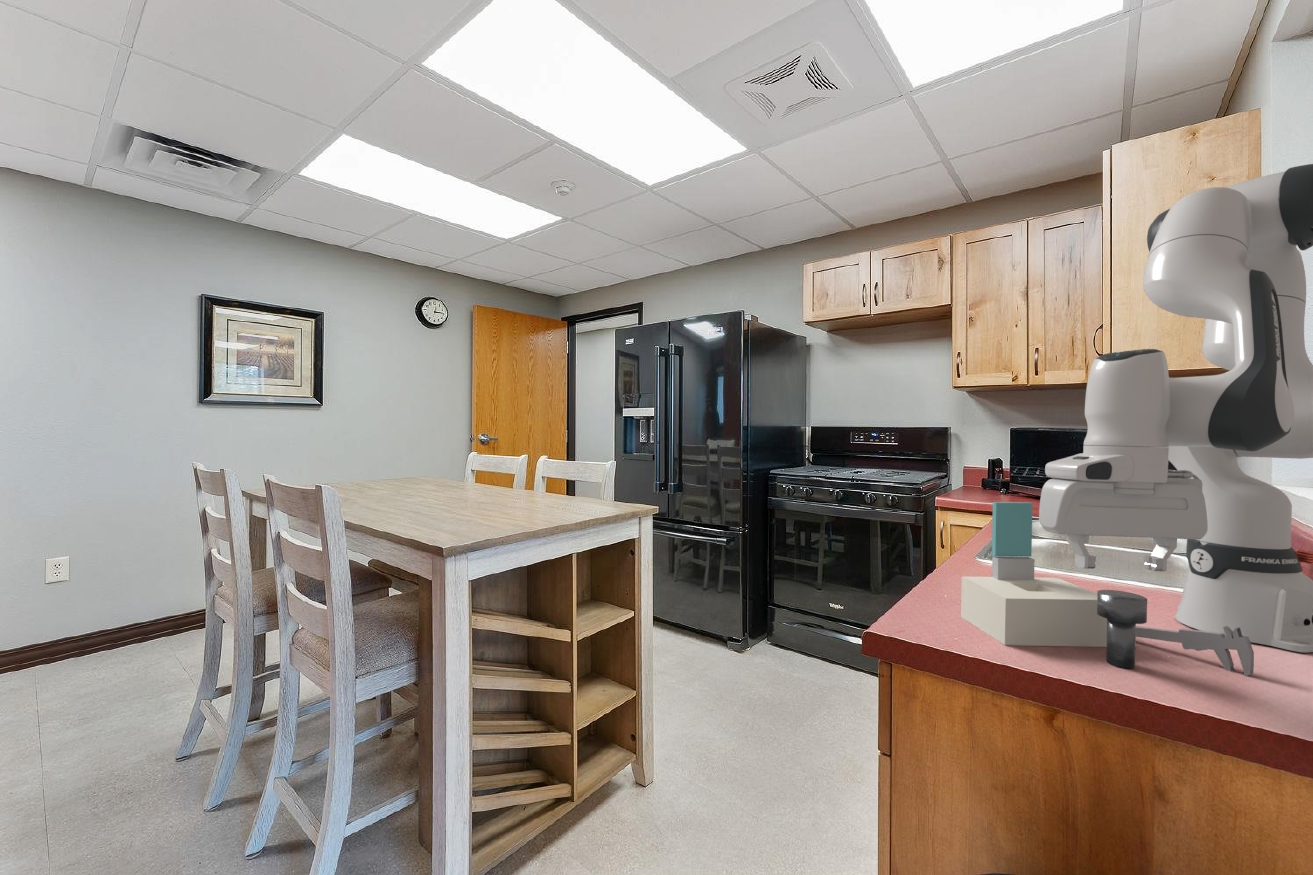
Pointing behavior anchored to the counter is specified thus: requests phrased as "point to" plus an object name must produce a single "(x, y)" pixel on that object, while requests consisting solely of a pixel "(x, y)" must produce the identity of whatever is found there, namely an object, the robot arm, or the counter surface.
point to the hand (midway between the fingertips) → (1120, 569)
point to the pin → (1121, 624)
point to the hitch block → (1031, 607)
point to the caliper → (1208, 643)
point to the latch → (1012, 529)
